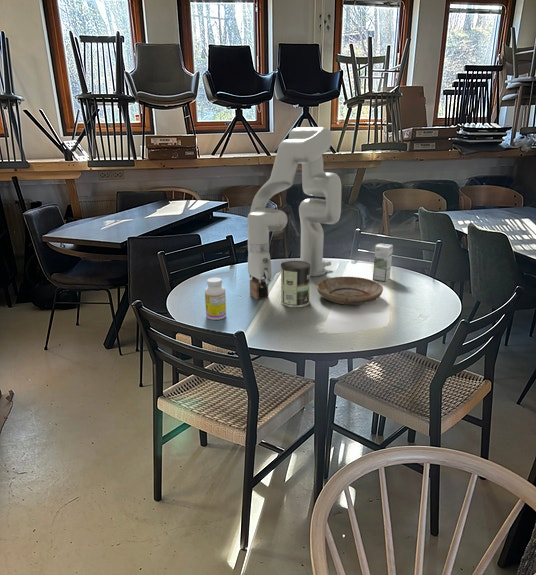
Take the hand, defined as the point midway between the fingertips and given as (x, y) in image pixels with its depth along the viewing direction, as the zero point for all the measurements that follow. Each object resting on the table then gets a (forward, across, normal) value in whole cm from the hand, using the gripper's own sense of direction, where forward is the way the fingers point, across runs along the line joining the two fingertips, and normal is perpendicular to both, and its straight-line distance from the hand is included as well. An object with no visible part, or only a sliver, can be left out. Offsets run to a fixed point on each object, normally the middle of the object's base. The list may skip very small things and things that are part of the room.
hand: (259, 294), depth 160 cm
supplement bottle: (+1, -9, +22) cm, 23 cm away
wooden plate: (+1, -19, -27) cm, 33 cm away
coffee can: (+1, -12, -8) cm, 14 cm away
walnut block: (+1, 0, 0) cm, 1 cm away
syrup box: (+1, -9, -53) cm, 54 cm away
